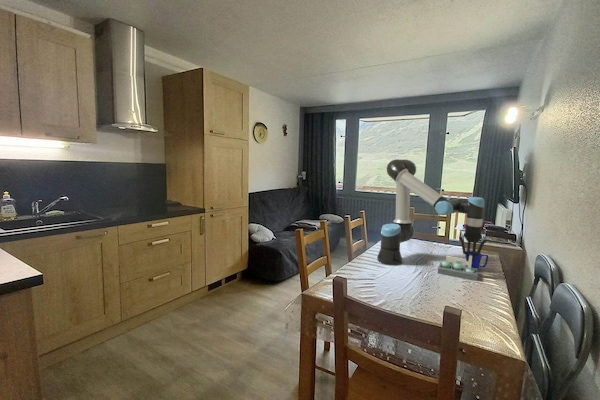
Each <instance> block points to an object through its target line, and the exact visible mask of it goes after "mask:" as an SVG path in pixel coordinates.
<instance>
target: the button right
mask: <svg viewBox="0 0 600 400" xmlns="http://www.w3.org/2000/svg"><path fill="white" fill-rule="evenodd" d="M465 271H466V272H472V273H475V270H473V269H470V268H466V269H465Z"/></svg>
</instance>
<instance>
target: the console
mask: <svg viewBox="0 0 600 400" xmlns="http://www.w3.org/2000/svg"><path fill="white" fill-rule="evenodd" d="M466 268H468V267H465V266H462V271H461V270H455V269H453V264H450V268H444V267H442V261H441V262H440V261H439V264H438V267H437V274H438V275H439V274H440V275H444V276H450V277H455V278H459V279H466V280H468V281H474V282H478V276H479V275H478V274H479V273H478V270H477V268H470V269H473V270H475V273H472V272H466V271H465V269H466Z"/></svg>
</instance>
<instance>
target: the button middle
mask: <svg viewBox="0 0 600 400" xmlns="http://www.w3.org/2000/svg"><path fill="white" fill-rule="evenodd" d="M453 269H455V270H461V271H462V264H460V263H454V265H453Z"/></svg>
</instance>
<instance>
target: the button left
mask: <svg viewBox="0 0 600 400" xmlns="http://www.w3.org/2000/svg"><path fill="white" fill-rule="evenodd" d="M441 262H442V267H444V268H450V262H448V261H446V260H442V261H441Z"/></svg>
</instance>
